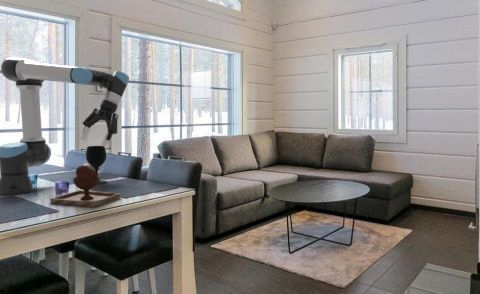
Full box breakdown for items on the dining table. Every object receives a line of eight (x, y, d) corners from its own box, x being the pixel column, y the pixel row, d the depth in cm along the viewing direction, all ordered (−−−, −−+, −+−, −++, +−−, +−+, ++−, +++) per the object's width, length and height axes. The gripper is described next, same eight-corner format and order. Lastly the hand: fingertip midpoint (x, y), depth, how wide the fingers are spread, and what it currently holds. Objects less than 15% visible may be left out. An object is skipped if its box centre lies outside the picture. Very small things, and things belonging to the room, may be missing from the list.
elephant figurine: (71, 177, 208) (81, 153, 215) (81, 187, 220) (90, 164, 227) (85, 178, 207) (94, 155, 214) (94, 188, 219) (102, 166, 226)
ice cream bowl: (84, 203, 158) (83, 168, 156) (68, 199, 163) (67, 165, 162) (105, 198, 167) (104, 165, 165) (88, 195, 172) (88, 162, 171)
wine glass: (100, 185, 200) (99, 147, 198) (82, 184, 202) (81, 147, 200) (110, 181, 210) (109, 145, 208) (93, 180, 212) (92, 145, 210)
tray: (50, 203, 160) (50, 198, 159) (79, 194, 177) (79, 190, 177) (94, 207, 153) (94, 202, 153) (120, 198, 171) (120, 193, 170)
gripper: (135, 110, 178) (117, 151, 174) (97, 101, 189) (80, 140, 185) (125, 103, 172) (107, 146, 167) (86, 94, 182) (68, 134, 178)
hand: (92, 143), depth 176 cm, fingers open, 13 cm apart
